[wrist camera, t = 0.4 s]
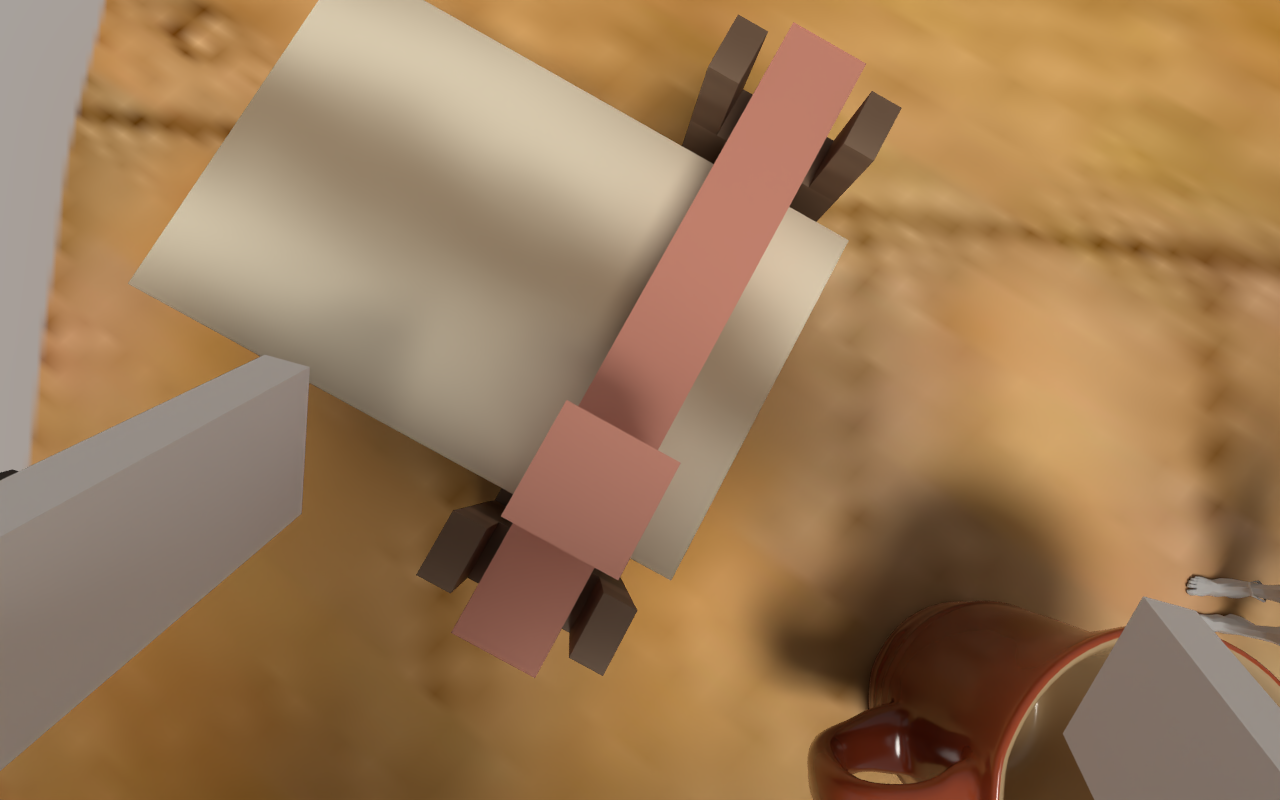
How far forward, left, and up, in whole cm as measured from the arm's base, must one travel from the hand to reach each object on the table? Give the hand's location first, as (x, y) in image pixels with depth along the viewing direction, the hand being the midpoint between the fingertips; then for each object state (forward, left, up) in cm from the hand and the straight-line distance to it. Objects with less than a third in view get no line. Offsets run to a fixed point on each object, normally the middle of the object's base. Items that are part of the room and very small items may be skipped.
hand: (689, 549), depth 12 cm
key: (+4, +2, -7) cm, 8 cm away
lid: (+4, +6, -10) cm, 12 cm away
